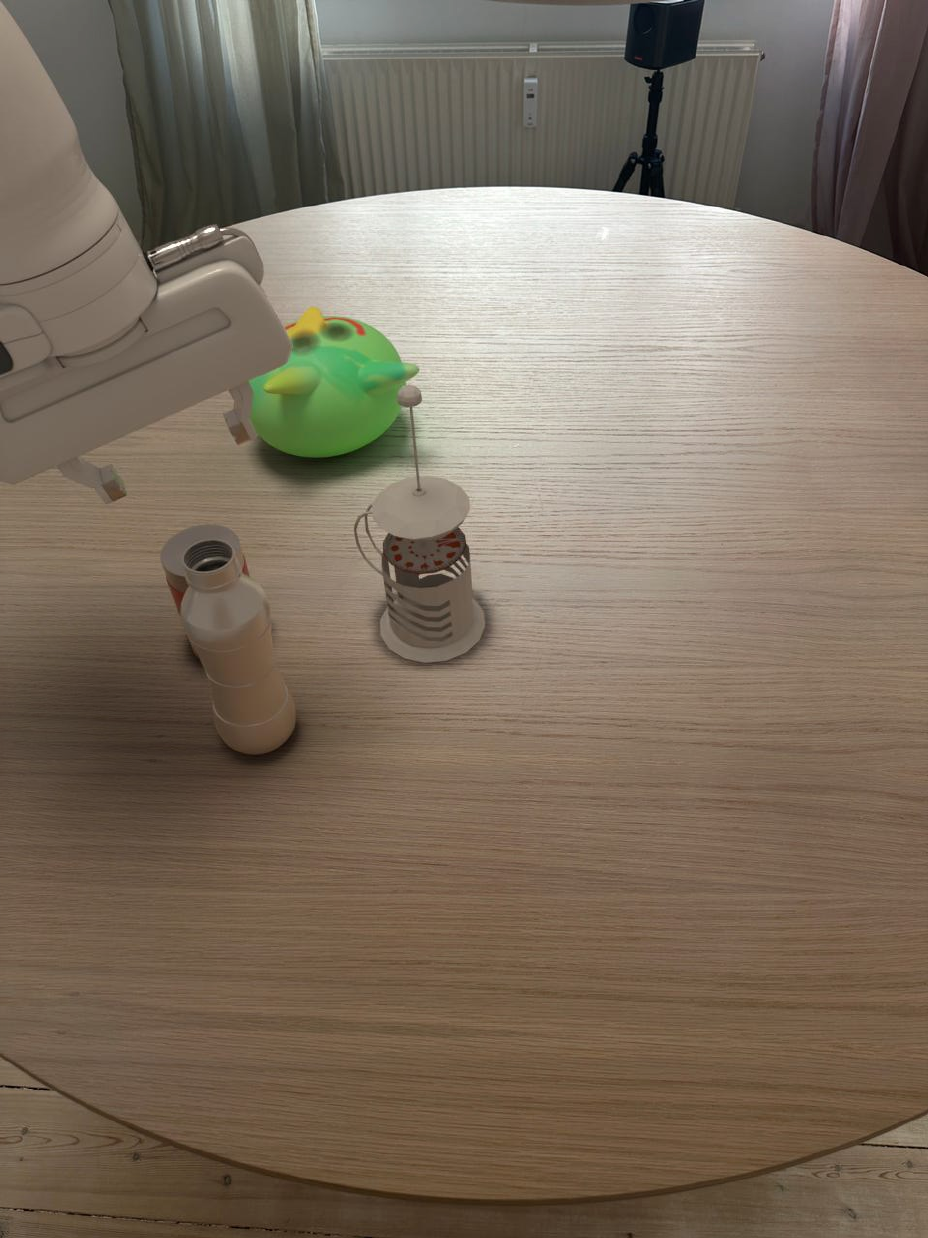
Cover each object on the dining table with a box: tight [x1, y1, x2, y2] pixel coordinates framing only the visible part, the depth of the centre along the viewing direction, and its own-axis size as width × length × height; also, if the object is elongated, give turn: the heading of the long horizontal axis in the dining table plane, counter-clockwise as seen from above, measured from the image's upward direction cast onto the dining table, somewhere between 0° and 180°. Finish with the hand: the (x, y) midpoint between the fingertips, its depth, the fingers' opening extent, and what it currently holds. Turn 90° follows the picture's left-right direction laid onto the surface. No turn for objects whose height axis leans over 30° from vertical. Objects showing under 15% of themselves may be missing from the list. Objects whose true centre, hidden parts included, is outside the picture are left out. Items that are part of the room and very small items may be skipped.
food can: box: [159, 523, 251, 660], centre depth 86 cm, size 7×7×11 cm
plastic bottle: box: [179, 539, 297, 755], centre depth 75 cm, size 6×7×20 cm
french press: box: [353, 384, 486, 664], centre depth 82 cm, size 10×12×25 cm
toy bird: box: [249, 306, 420, 458], centre depth 106 cm, size 18×17×15 cm
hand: (181, 465), depth 66 cm, fingers open, 8 cm apart
